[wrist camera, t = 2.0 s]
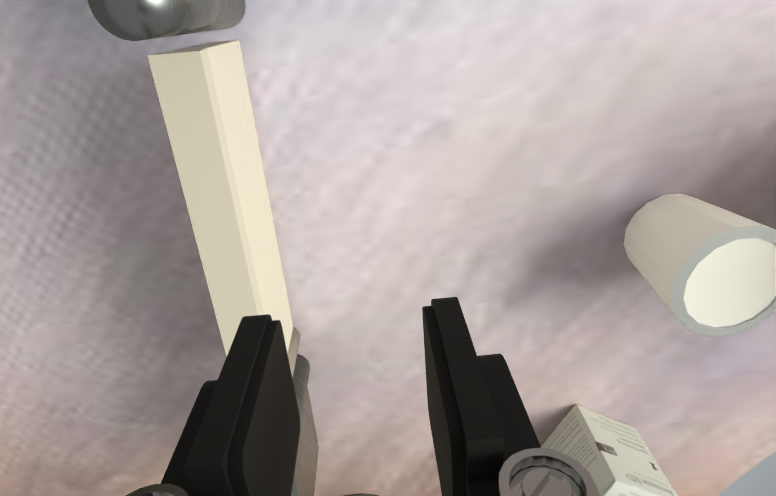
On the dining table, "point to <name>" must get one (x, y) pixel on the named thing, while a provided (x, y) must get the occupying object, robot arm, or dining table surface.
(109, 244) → the dining table surface
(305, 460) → the gate frame
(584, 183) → the dining table surface
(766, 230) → the white short cylinder
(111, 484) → the dining table surface
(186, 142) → the gate
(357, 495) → the thermos
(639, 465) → the skincare box
